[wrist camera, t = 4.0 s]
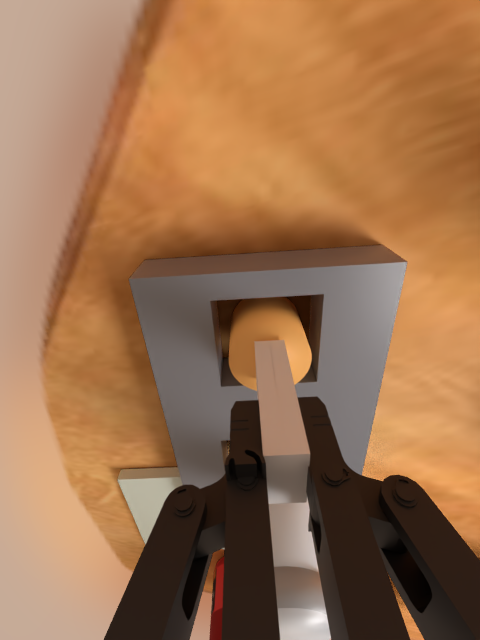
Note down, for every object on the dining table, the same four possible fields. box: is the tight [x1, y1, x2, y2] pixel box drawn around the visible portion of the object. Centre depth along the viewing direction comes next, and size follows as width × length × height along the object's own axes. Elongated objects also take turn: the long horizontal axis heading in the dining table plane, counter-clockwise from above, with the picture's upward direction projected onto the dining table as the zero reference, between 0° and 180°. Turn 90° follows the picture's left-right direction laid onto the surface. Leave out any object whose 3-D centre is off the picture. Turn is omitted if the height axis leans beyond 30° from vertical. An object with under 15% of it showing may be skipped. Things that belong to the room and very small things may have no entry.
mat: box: [117, 467, 224, 549], centre depth 31 cm, size 13×13×1 cm
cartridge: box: [269, 499, 331, 640], centre depth 21 cm, size 5×5×12 cm
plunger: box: [229, 297, 312, 391], centre depth 18 cm, size 4×4×4 cm
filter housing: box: [129, 245, 407, 489], centre depth 22 cm, size 22×14×3 cm, turn 4°
